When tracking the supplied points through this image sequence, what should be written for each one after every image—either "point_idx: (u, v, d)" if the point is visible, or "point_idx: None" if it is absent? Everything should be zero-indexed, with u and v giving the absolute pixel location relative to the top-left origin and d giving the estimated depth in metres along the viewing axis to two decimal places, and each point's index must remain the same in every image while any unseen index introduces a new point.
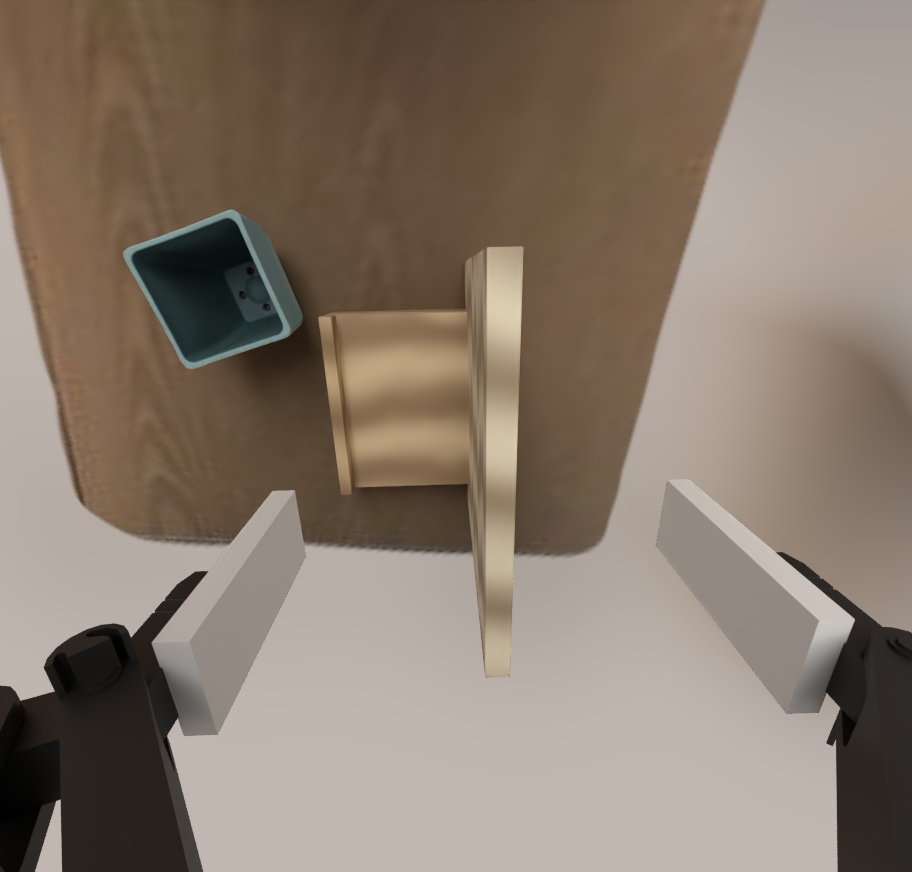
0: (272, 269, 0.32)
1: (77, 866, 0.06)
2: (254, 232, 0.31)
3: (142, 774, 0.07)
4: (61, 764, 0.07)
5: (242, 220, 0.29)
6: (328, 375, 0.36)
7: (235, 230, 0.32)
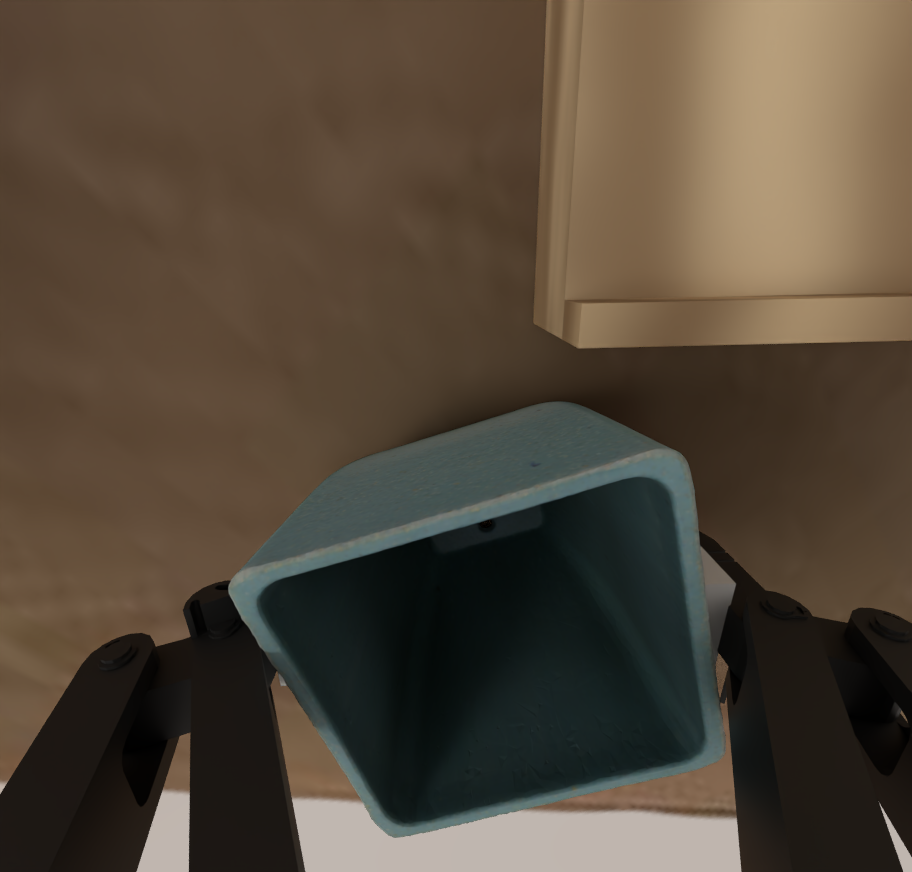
0: (427, 475, 0.10)
1: (201, 787, 0.06)
2: (316, 515, 0.10)
3: (254, 718, 0.07)
4: (192, 696, 0.08)
5: (261, 562, 0.08)
6: (780, 333, 0.10)
7: None
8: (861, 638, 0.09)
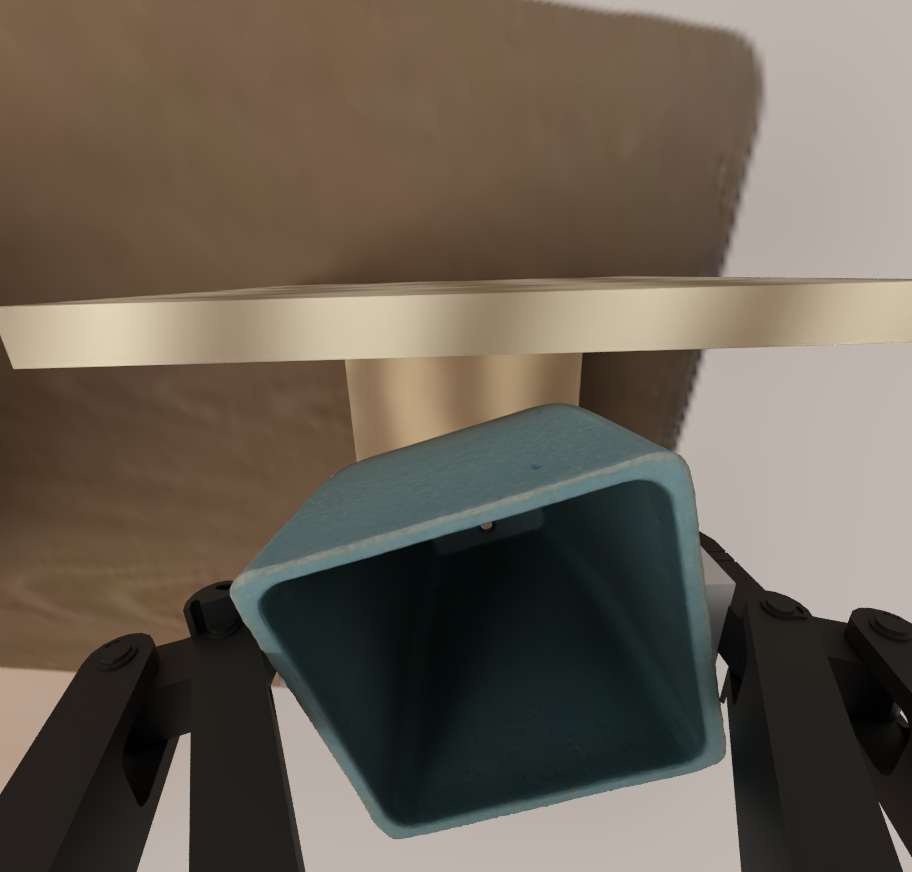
0: (427, 477, 0.10)
1: (201, 787, 0.06)
2: (317, 517, 0.10)
3: (254, 718, 0.07)
4: (192, 696, 0.08)
5: (262, 565, 0.08)
6: None
7: None
8: (861, 638, 0.09)
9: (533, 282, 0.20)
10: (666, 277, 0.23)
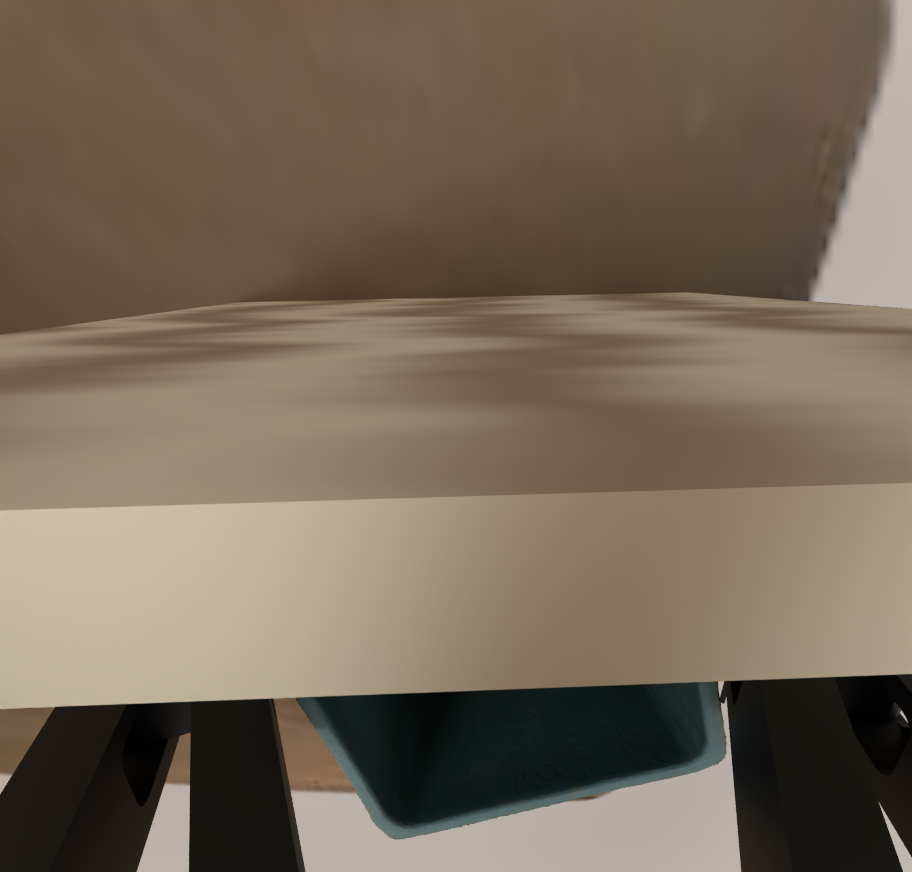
0: None
1: (201, 786, 0.06)
2: None
3: (254, 717, 0.07)
4: None
5: None
6: None
7: None
8: None
9: (590, 315, 0.12)
10: (780, 302, 0.15)
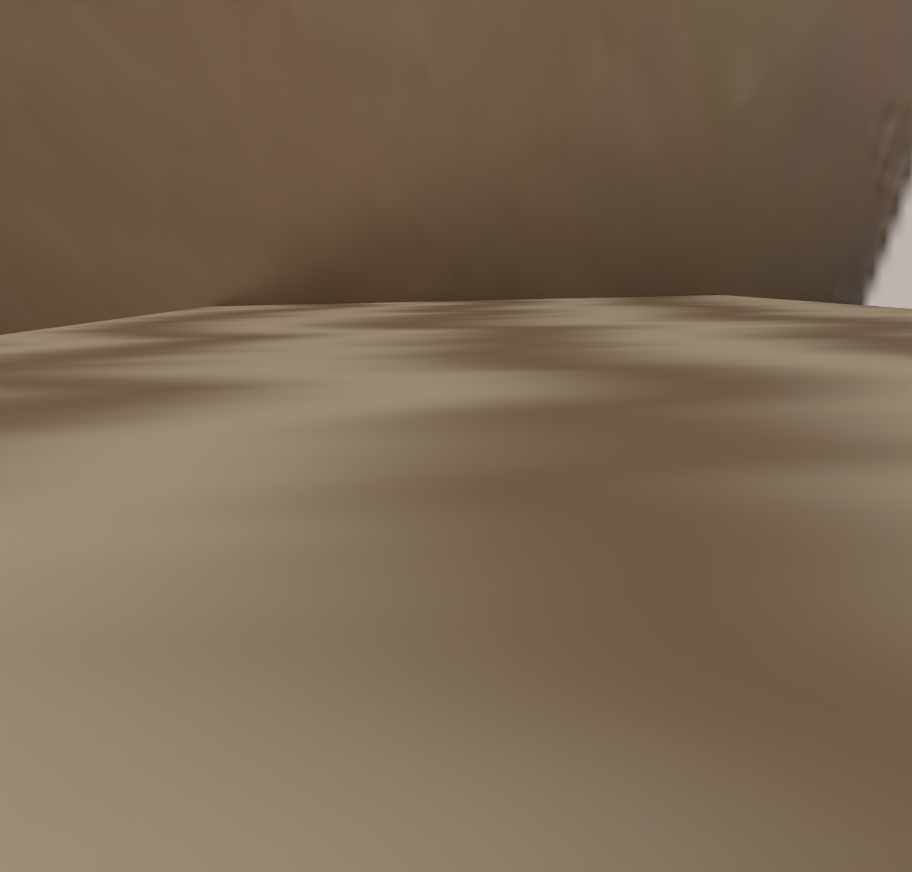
0: None
1: None
2: None
3: None
4: None
5: None
6: None
7: None
8: None
9: (639, 329, 0.09)
10: (862, 309, 0.12)
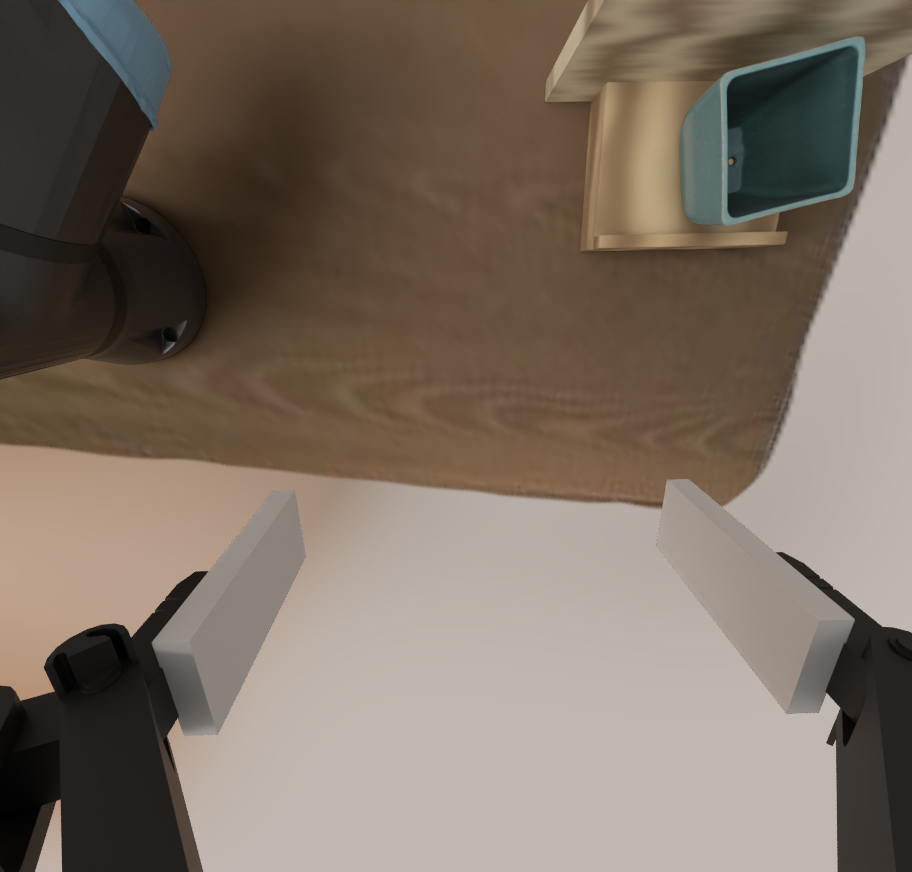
0: None
1: (77, 866, 0.06)
2: None
3: (143, 773, 0.07)
4: (62, 764, 0.07)
5: (731, 71, 0.27)
6: (654, 244, 0.37)
7: None
8: None
9: None
10: None
